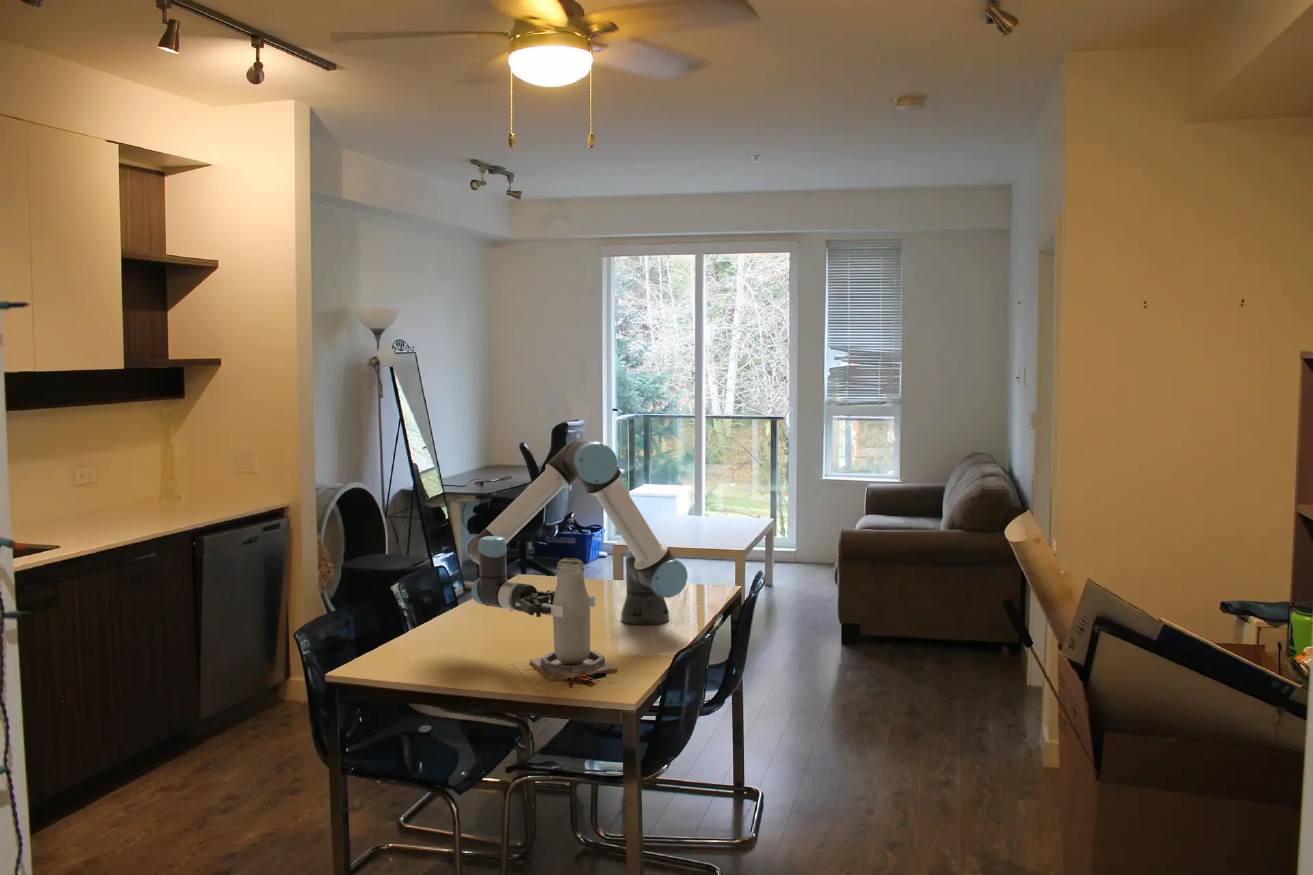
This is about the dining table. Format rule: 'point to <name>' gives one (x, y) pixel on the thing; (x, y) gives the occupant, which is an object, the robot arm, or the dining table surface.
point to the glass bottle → (571, 613)
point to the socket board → (572, 666)
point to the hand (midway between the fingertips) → (578, 606)
